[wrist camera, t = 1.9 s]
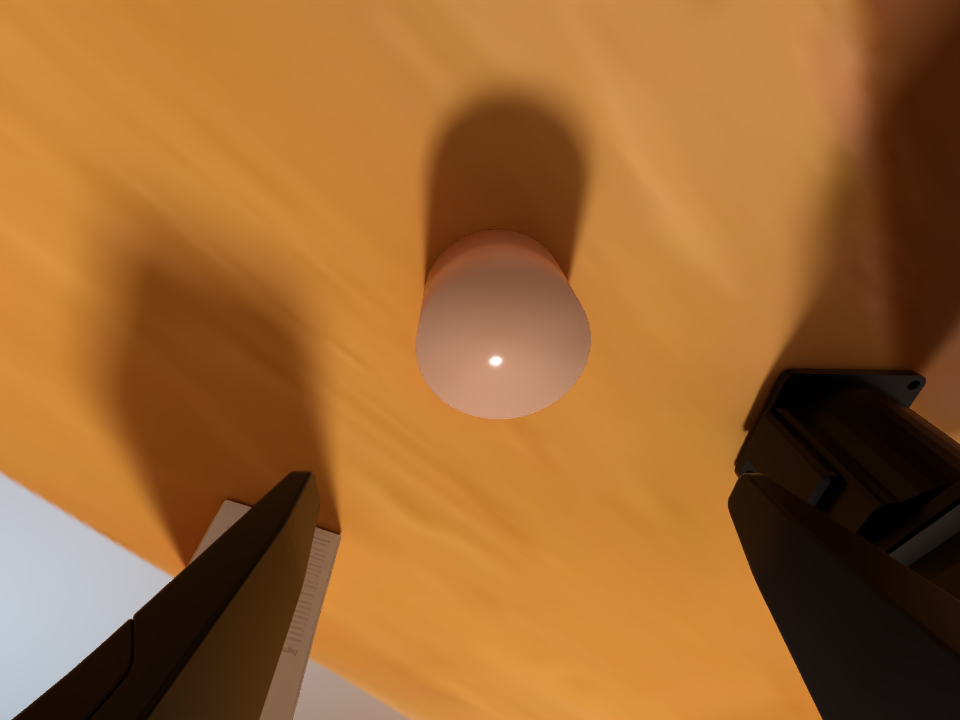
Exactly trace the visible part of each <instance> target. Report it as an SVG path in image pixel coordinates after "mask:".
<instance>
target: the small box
mask: <svg viewBox="0 0 960 720" xmlns="http://www.w3.org/2000/svg"><path fill="white" fill-rule="evenodd" d="M251 508H252V507H250V506H246V505H243V504H240V503H236V502H233V501H230V500H224V501H223V503H222V505H221V506H220V508H219V510H218V512H217V513H216V515H215V517H214V519H213V520H212V522H211V524H210V525H209V527H208V529H207V531H206V532H205V534H204V536H203V538H202V539H201V541H200V543H199V545H198V547H197V548H196V550H195V552H194V554H193V556H192V558H191V559H190V561H189V563H188V565H189V564H190V563H191V562H192V561H194V560H195V559H196V558H197V557H198V556H199V555H200V554H201V553H202V552H203V551H205V550H206V549H207V548H208V547H209V546H210V545H211V544H212V543H213V542H214V541H216V540H217V539H218V538H219V537H220V536H221V535H222V534H223V533H224V532H225V531H226V530H228V529H229V528H230V527H231V526H232V525H233V524H234V523H235V522H236V521H237V520H239V519H240V518H241V517H242V516H243V515H244V514H245V513H246V512H247V511H248V510H250V509H251ZM340 540H341V536H340V535H338V534H335V533H332V532H329V531H326V530H323V529H320V528H317V527H315V532H314V537H313V542H312V547H311V551H310V556H309V561H308V566H307V571H306V575H305V579H304V583H303V587H302V590H301V594H300V597H299V600H298V603H297V606H296V609H295V612H294V615H293V618H292V621H291V624H290V627H289V631H288V634H287V637H286V640H285V643H284V646H283V649H282V652H281V655H280V658H279V661H278V664H277V667H276V670H275V673H274V676H273V680H272V683H271V686H270V689H269V692H268V695H267V698H266V701H265V704H264V707H263V710H262V713H261V716H260V719H259V720H293V716H294V712H295V708H296V705H297V701H298V697H299V694H300V690H301V685H302V681H303V677H304V673H305V669H306V666H307V662H308V658H309V654H310V650H311V646H312V643H313V639H314V635H315V631H316V627H317V623H318V620H319V616H320V612H321V608H322V605H323V601H324V598H325V594H326V591H327V587H328V584H329V580H330V576H331V573H332V569H333V565H334V562H335V558H336V554H337V550H338V547H339V543H340ZM188 565H187V566H188Z"/></svg>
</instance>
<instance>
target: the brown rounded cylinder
mask: <svg viewBox="0 0 960 720" xmlns="http://www.w3.org/2000/svg"><path fill="white" fill-rule="evenodd" d="M590 344H591V334H590V327H589V322H588V319H587V316H586V313H585V311H584V310H583V308H582V306H581V304H580V302H579V300H578V299H577V297H576V295H575V293H574V291H573V290H572V288H571V286H570V284H569V283H568V281H567V279H566V277H565V276H564V274H563V272H562V270H561V268H560V267H559V265H558V263H557V261H556V260H555V258H554V257H553V256H552V254H551V253H550V252H549V251H548V250H547V249H546V248H545V247H544V246H543V245H542V244H540V243H539V242H538V241H536V240H535V239H533V238H531V237H529V236H527V235H525V234H522V233H519V232H515V231H511V230H504V229H489V230H483V231H478V232H475V233H472V234H469V235H467V236H464V237H462V238H460V239H459V240H457V241H455V242H454V243H452V244H451V245H450V246H449V247H447V248H446V249H445V250H444V251H443V252H442V253H441V254H440V255H439V257H438V258H437V259H436V261H435V262H434V264H433V266H432V268H431V269H430V271H429V274H428V277H427V280H426V284H425V289H424V295H423V301H422V307H421V314H420V320H419V326H418V332H417V338H416V355H417V361H418V365H419V369H420V371H421V373H422V376H423V378H424V379H425V381H426V383H427V384H428V386H429V387H430V388H431V389H432V391H433V392H434V393H435V394H436V395H437V396H438V397H439V398H440V399H441V400H443V401H444V402H445V403H447V404H448V405H450V406H451V407H453V408H455V409H457V410H459V411H461V412H464V413H466V414H469V415H473V416H476V417H481V418H487V419H510V418H517V417H521V416H525V415H529V414H532V413H535V412H537V411H540V410H542V409H544V408H546V407H548V406H549V405H551V404H553V403H554V402H556V401H557V400H558V399H560V398H561V397H562V396H563V395H565V394H566V393H567V392H568V391H569V390H570V389H571V388H572V386H573V385H574V384H575V382H576V381H577V380H578V378H579V377H580V375H581V373H582V372H583V370H584V367H585V365H586V363H587V359H588V356H589V352H590Z"/></svg>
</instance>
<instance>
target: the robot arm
mask: <svg viewBox="0 0 960 720" xmlns="http://www.w3.org/2000/svg"><path fill="white" fill-rule="evenodd" d="M793 379H794V380H793ZM791 380H793V381H791ZM790 381H791V382H790ZM925 383H926V378H925V377H924V376H922V375H920V374H919V373H917V372H915V371H895V370H841V369H789V370H786V371H784V372H783V373H782V374H781V375H780V376H779V378H778V379H777V381H776V384H775V386H774V388H773V390H772V392H771V394H770V396H769V398H768V400H767V402H766V404H765V407H764V409H763V411H762V413H761V415H760V417H759V419H758V421H757V423H756V425H755V428H754V430H753V432H752V434H751V436H750V438H749V440H748V442H747V444H746V446H745V448H744V451H743V453H742V455H741V457H740V459H739V461H738V463H737V465H736V467H735V474H736V475H737V476H738V480H737V482H736V484H735V486H734V488H733V490H732V492H731V495H730V497H729V499H728V509H729V512H730V515H731V518H732V520H733V523H734V526H735V528H736V531H737V534H738V536H739V539H740V542H741V545H742V547H743V550H744V553H745V555H746V558H747V561H748V563H749V566H750V569H751V571H752V574H753V576H754V579H755V581H756V583H757V585H758V587H759V590H760V592H761V594H762V596H763V598H764V600H765V602H766V604H767V606H768V608H769V610H770V612H771V614H772V616H773V618H774V621H775V623H776V625H777V627H778V629H779V631H780V633H781V635H782V637H783V639H784V641H785V643H786V645H787V647H788V649H789V651H790V653H791V656H792V658H793V660H794V662H795V664H796V666H797V668H798V670H799V672H800V674H801V676H802V678H803V680H804V682H805V684H806V686H807V688H808V691H809V693H810V695H811V697H812V699H813V701H814V703H815V705H816V707H817V709H818V711H819V713H820V715H821V717H822V719H823V720H960V444H959V443H957V442H956V441H955V440H953V439H952V438H950V437H949V436H948V435H946V434H945V433H943V432H942V431H941V430H939V429H938V428H936V427H935V426H934V425H932V424H931V423H929V422H928V421H927V420H925V419H924V418H922V417H921V416H920V415H918V414H917V413H915V412H914V411H913V410H911V409H910V408H909V407H910V405H911V404H912V402H913V401H914V400H915V398H916V397H917V395H918V394H919V392H920V391H921V389H922V388H923V387H924V385H925ZM319 507H320V498H319V493H318V488H317V483H316V478H315V475H314V473H313V472H312V471H292V472H290V473H289V474H288V475H287V476H286V477H285V478H284V479H282V480H281V481H280V482H279V483H278V484H277V485H276V486H275V487H274V488H273V489H271V490H270V491H269V492H268V493H267V494H266V495H265V496H264V497H263V498H262V499H260V500H259V501H258V502H257V503H256V504H255V505H254V506H253V507H252V508H251V509H250V510H248V511H247V512H246V513H245V514H244V515H243V516H242V517H241V518H240V519H239V520H237V521H236V522H235V523H234V524H233V525H232V526H231V527H230V528H229V529H228V530H226V531H225V532H224V533H223V534H222V535H221V536H220V537H219V538H218V539H217V540H216V541H214V542H213V543H212V544H211V545H210V546H209V547H208V548H207V549H206V550H205V551H203V552H202V553H201V554H200V555H199V556H198V557H197V558H196V559H195V560H194V561H192V562H191V563H190V564H189V565H188V566H187V567H186V568H185V569H184V570H183V571H182V572H180V573H179V574H178V575H177V576H176V577H175V578H174V579H173V580H172V581H171V582H169V583H168V584H167V585H166V586H165V587H164V588H163V589H162V590H161V591H160V592H159V593H157V594H156V595H155V596H154V597H153V598H152V599H151V600H150V601H149V602H148V603H147V604H145V605H144V606H143V607H142V608H141V609H140V610H139V611H138V612H137V613H135V614H134V617H133V619H129V620H128V621H127V622H125V623H124V624H123V625H122V626H121V627H120V628H119V629H118V630H117V631H115V632H114V633H113V634H112V635H111V636H110V637H109V638H108V639H107V640H106V641H104V642H103V643H102V644H101V645H100V646H99V647H98V648H96V650H94V651H93V652H92V653H91V654H90V655H89V656H87V657H86V658H85V659H84V660H83V661H82V662H81V663H79V664H78V665H77V666H76V667H75V668H74V669H73V670H72V671H70V672H69V673H68V674H67V675H66V676H64V677H63V678H62V679H61V680H60V681H58V682H57V683H56V684H55V685H53V686H52V687H51V688H50V689H49V690H47V691H46V692H45V693H44V694H43V695H41V696H40V697H39V698H38V699H37V700H35V701H34V702H33V703H32V704H30V705H29V706H28V707H27V708H26V709H24V710H23V711H22V712H21V713H19V714H18V715H17V716H16V717H14V718H13V719H12V720H259V719H260V716H261V713H262V710H263V707H264V704H265V701H266V698H267V695H268V692H269V689H270V686H271V683H272V680H273V676H274V673H275V670H276V667H277V664H278V661H279V658H280V655H281V652H282V649H283V646H284V643H285V640H286V637H287V634H288V631H289V627H290V624H291V621H292V618H293V615H294V612H295V609H296V606H297V603H298V600H299V597H300V594H301V590H302V587H303V583H304V579H305V575H306V571H307V566H308V561H309V556H310V551H311V547H312V542H313V537H314V532H315V527H316V523H317V518H318V513H319Z"/></svg>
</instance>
